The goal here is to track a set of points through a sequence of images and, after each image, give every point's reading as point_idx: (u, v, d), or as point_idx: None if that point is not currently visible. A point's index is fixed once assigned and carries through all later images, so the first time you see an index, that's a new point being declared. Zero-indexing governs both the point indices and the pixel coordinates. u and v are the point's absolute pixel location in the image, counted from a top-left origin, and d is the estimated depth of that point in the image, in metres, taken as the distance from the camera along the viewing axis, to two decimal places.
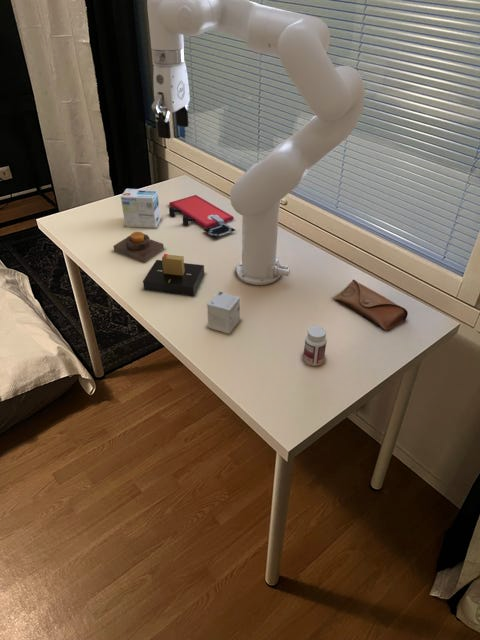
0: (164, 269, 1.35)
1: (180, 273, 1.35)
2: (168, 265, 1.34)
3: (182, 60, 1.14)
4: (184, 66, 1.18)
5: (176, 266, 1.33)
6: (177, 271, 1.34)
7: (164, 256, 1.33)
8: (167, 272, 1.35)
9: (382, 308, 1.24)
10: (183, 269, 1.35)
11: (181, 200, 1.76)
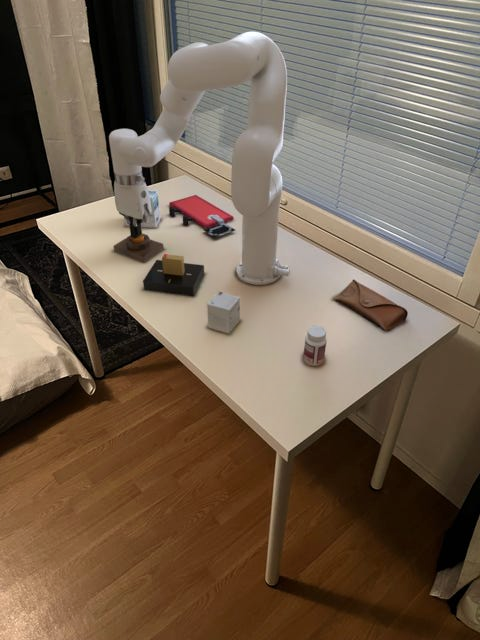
0: (164, 269, 1.35)
1: (180, 273, 1.35)
2: (168, 265, 1.34)
3: None
4: None
5: (176, 266, 1.33)
6: (177, 271, 1.34)
7: (164, 256, 1.33)
8: (167, 272, 1.35)
9: (382, 308, 1.24)
10: (183, 269, 1.35)
11: (181, 200, 1.76)
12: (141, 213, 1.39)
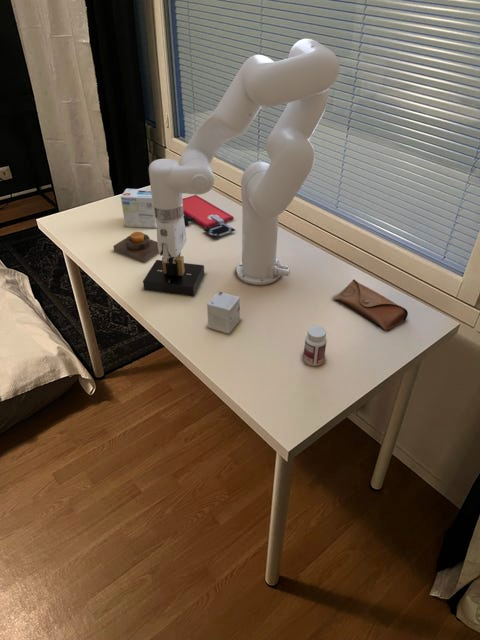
0: (164, 269, 1.35)
1: (180, 273, 1.35)
2: None
3: (182, 213, 1.24)
4: None
5: None
6: None
7: None
8: None
9: (382, 308, 1.24)
10: (183, 269, 1.35)
11: None
12: (158, 249, 1.27)
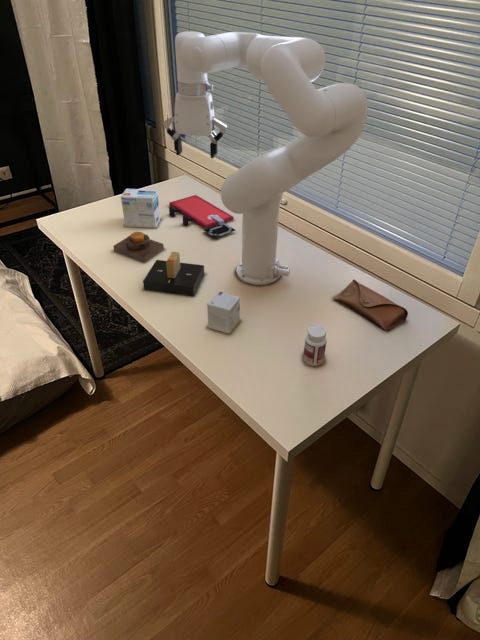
0: (174, 273, 1.33)
1: (179, 266, 1.37)
2: (175, 266, 1.33)
3: None
4: None
5: (178, 262, 1.35)
6: (178, 267, 1.36)
7: (172, 260, 1.31)
8: (175, 274, 1.35)
9: (382, 308, 1.24)
10: None
11: (181, 200, 1.76)
12: (210, 127, 1.29)
